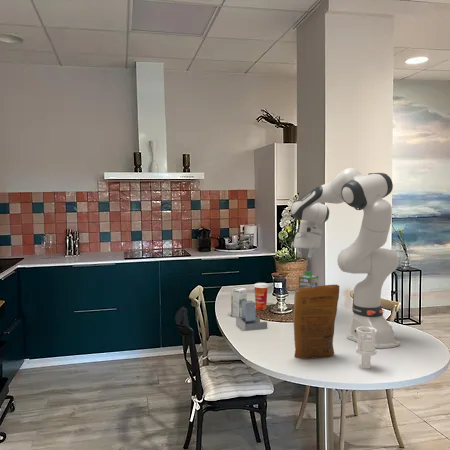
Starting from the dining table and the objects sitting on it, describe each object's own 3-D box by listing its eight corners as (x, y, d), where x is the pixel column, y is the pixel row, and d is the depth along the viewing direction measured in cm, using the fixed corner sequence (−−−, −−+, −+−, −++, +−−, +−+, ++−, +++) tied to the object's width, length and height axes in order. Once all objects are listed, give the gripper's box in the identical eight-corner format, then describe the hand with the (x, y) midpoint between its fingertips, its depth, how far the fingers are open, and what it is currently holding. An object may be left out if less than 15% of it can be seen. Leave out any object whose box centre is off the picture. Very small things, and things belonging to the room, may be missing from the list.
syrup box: (238, 314, 230) (238, 286, 229) (247, 316, 226) (246, 288, 225) (231, 316, 226) (230, 288, 225) (239, 318, 222) (239, 290, 221)
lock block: (256, 327, 206) (256, 302, 205) (245, 329, 204) (245, 303, 204) (252, 324, 211) (252, 300, 210) (241, 326, 209) (241, 301, 208)
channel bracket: (259, 322, 215) (259, 314, 214) (267, 328, 205) (267, 320, 205) (236, 324, 211) (236, 316, 211) (243, 331, 202) (243, 322, 201)
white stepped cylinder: (365, 372, 154) (366, 330, 153) (351, 365, 160) (352, 325, 159) (380, 368, 157) (381, 327, 156) (366, 362, 163) (366, 322, 162)
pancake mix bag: (342, 357, 168) (343, 285, 166) (295, 361, 164) (295, 287, 162) (335, 351, 174) (335, 282, 172) (289, 355, 171) (289, 284, 169)
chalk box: (318, 294, 276) (318, 270, 275) (311, 296, 269) (311, 272, 268) (305, 292, 282) (306, 269, 281) (298, 294, 275) (298, 271, 274)
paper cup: (251, 309, 240) (251, 284, 239) (259, 306, 245) (259, 282, 244) (262, 311, 234) (262, 286, 233) (271, 309, 240) (271, 283, 239)
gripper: (292, 229, 231) (288, 255, 229) (313, 228, 212) (309, 256, 210) (302, 232, 233) (299, 257, 231) (324, 230, 214) (320, 258, 212)
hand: (304, 257), depth 221 cm, fingers open, 8 cm apart
